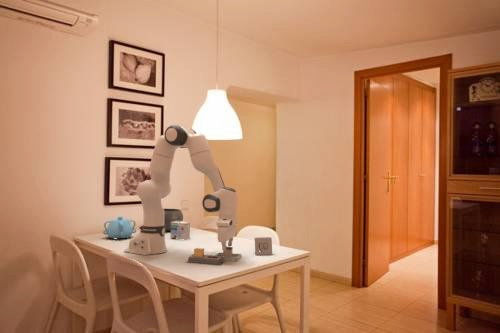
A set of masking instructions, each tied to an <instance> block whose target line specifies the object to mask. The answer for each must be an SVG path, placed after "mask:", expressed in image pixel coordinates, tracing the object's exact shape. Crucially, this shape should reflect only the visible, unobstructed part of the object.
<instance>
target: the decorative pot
mask: <svg viewBox="0 0 500 333" xmlns="http://www.w3.org/2000/svg"><path fill="white" fill-rule="evenodd" d="M131 222H133V226H132V223H131ZM107 223H109V224H108V226H107ZM136 225H137V224H136V221H135V220H134V219H128V218H124V217H123V216H117V218H113V219H111V220H106V221H105V222H104V224H103V227H104V230H103V232H102V234H103V235H107V236H108V238H110V239H113V238H117V239H123V238H130V237H131V236H132V235H133V234H136V233H137V229H136V228H135V227H136Z"/></svg>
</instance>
